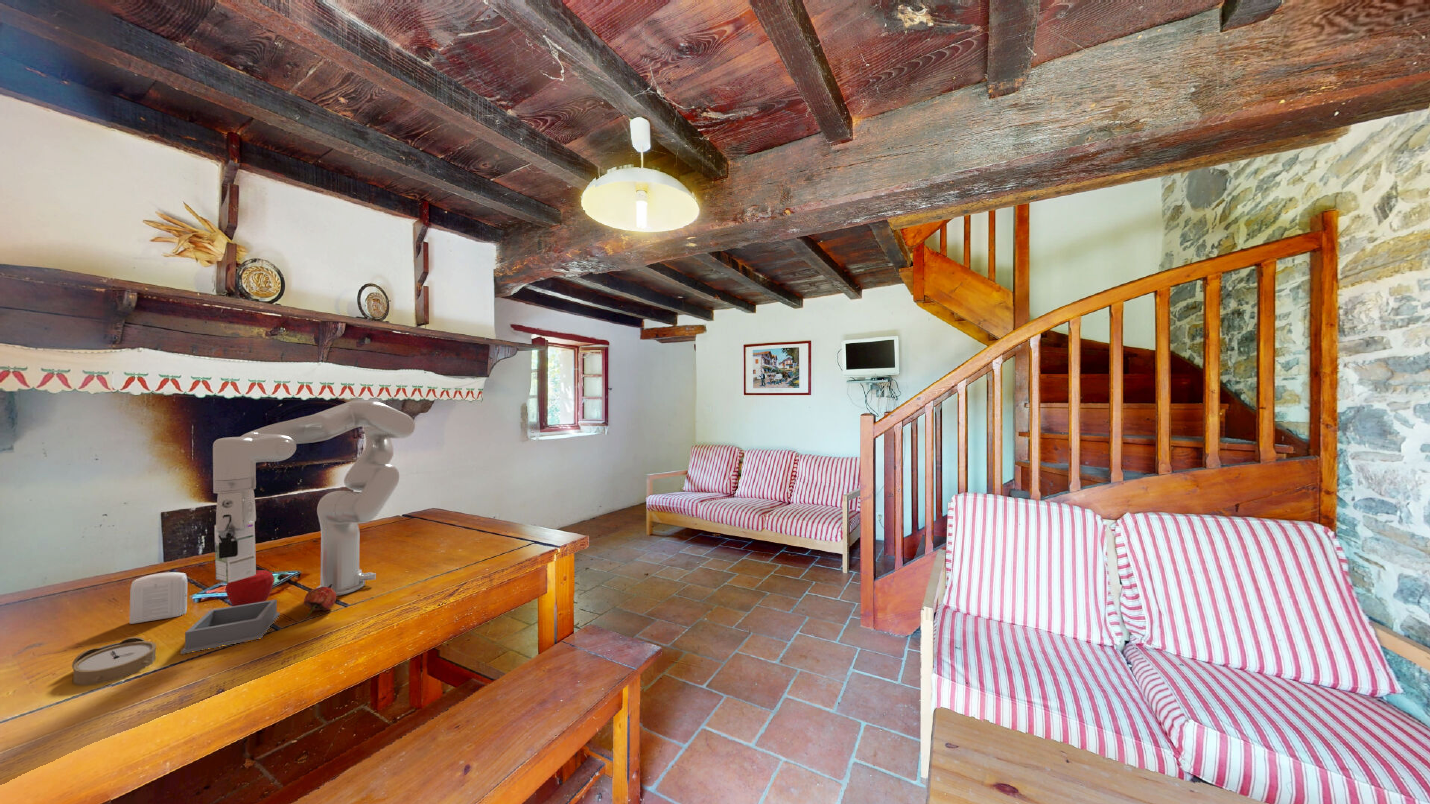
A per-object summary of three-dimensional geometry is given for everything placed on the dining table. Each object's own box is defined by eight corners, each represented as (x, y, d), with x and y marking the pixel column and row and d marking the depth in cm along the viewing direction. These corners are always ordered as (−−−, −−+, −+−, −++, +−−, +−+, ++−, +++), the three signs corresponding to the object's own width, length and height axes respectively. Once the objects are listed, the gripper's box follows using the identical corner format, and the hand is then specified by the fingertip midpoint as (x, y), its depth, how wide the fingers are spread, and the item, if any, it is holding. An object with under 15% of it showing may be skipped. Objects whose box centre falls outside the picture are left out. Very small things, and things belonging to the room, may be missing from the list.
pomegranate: (323, 624, 126) (351, 591, 134) (303, 611, 122) (333, 577, 129) (305, 623, 128) (333, 590, 136) (284, 610, 124) (315, 577, 132)
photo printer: (189, 610, 128) (190, 567, 128) (183, 616, 125) (183, 572, 125) (134, 619, 123) (134, 574, 122) (125, 626, 119) (126, 580, 119)
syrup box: (257, 575, 118) (256, 520, 118) (226, 584, 113) (226, 527, 112) (244, 571, 120) (243, 518, 120) (213, 580, 114) (213, 524, 114)
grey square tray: (279, 615, 126) (279, 598, 126) (261, 639, 114) (261, 620, 114) (208, 628, 119) (208, 609, 119) (180, 654, 107) (181, 634, 107)
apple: (277, 596, 137) (278, 561, 137) (268, 609, 129) (269, 572, 129) (232, 604, 132) (232, 568, 132) (219, 618, 124) (219, 579, 124)
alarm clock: (79, 679, 93) (64, 647, 100) (78, 701, 93) (63, 667, 100) (163, 652, 103) (144, 625, 110) (162, 672, 103) (143, 643, 110)
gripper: (241, 490, 110) (242, 560, 111) (266, 477, 125) (267, 539, 126) (197, 493, 106) (198, 565, 107) (228, 480, 121) (229, 543, 122)
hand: (235, 551), depth 116 cm, fingers closed on syrup box, 8 cm apart
